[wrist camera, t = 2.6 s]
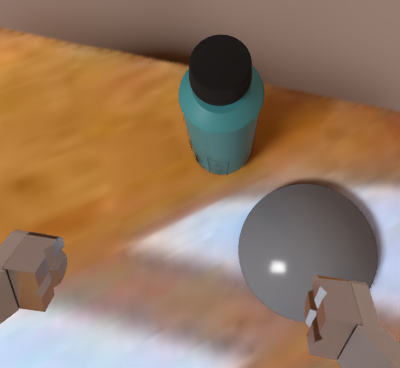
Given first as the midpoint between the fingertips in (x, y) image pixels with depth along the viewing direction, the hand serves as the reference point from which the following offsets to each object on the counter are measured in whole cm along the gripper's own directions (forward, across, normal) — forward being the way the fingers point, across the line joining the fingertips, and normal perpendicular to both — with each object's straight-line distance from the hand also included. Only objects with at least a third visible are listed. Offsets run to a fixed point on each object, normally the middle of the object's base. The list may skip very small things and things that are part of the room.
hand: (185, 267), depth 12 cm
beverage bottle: (+28, 0, +12) cm, 31 cm away
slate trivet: (+21, -11, +19) cm, 30 cm away
